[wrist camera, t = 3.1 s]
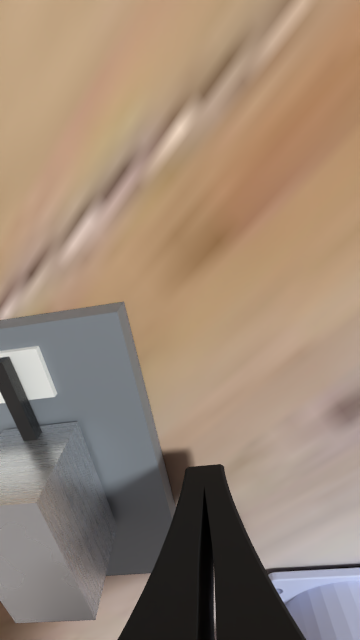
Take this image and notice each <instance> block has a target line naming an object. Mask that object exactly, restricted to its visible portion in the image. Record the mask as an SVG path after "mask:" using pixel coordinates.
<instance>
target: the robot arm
mask: <svg viewBox="0 0 360 640" xmlns="http://www.w3.org/2000/svg"><path fill="white" fill-rule="evenodd" d="M214 578H215V603H216V631H217V640H360V567H359V568H341V569H322V570H304V571H285V572H273V573H270V574H269V575H268V574H267V572H266V570H265V568H264V567H263V565H262V563H261V561H260V559H259V557H258V555H257V553H256V551H255V549H254V547H253V545H252V543H251V541H250V539H249V536H248V534H247V532H246V530H245V528H244V525H243V523H242V521H241V518H240V516H239V514H238V511H237V509H236V506H235V504H234V501H233V499H232V496H231V493H230V490H229V487H228V484H227V480H226V476H225V471H224V466H222V465H221V464H218V465H207V466H196V467H188V468H187V469H186V470H185V476H184V481H183V485H182V489H181V493H180V497H179V500H178V504H177V507H176V510H175V513H174V516H173V519H172V522H171V525H170V528H169V531H168V533H167V536H166V538H165V541H164V544H163V546H162V549H161V551H160V554H159V556H158V559H157V561H156V563H155V566H154V568H153V570H152V573H151V575H150V577H149V579H148V581H147V584H146V586H145V588H144V590H143V592H142V594H141V596H140V598H139V600H138V602H137V604H136V606H135V608H134V610H133V612H132V614H131V616H130V618H129V620H128V622H127V624H126V625H125V627H124V629H123V631H122V633H121V635H120V636H119V638H118V640H215V639H214Z"/></svg>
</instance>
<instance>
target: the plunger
mask: <svg viewBox="0 0 360 640" xmlns="http://www.w3.org/2000/svg"><path fill="white" fill-rule="evenodd" d="M0 392H1V394H2V397H3V399H4V401H5V403H6V405H7V407H8V409H9V411H10V413H11V415H12V418H13V420H14V422H15V424H16V426H17V428H15V429H6V430H3V431H2V433H1V434H0V601H1V603H2V604H3V605H4V607H5V608H6V610H7V611H8V613H9V614H10V616H11V617H12V618H13V620H14V621H15V623H32V622H56V621H80V620H96V615H97V611H98V606H99V602H100V598H101V593H102V589H103V585H104V580H105V576H106V572H107V567H108V563H109V559H110V554H111V550H112V545H113V541H114V537H115V532H116V528H117V525H116V523H115V520H114V517H113V515H112V512H111V509H110V506H109V504H108V501H107V498H106V496H105V493H104V490H103V488H102V485H101V482H100V480H99V477H98V474H97V472H96V469H95V466H94V464H93V461H92V458H91V456H90V453H89V450H88V448H87V445H86V442H85V440H84V437H83V434H82V432H81V429H80V426H79V423H78V422H70V423H60V424H51V425H42V426H39V423H38V421H37V419H36V417H35V414H34V412H33V410H32V407H31V405H30V403H29V401H28V398H27V396H26V394H25V391H24V389H23V387H22V385H21V382H20V380H19V378H18V375H17V373H16V371H15V369H14V366H13V364H12V362H11V359H10V357H2V358H0Z"/></svg>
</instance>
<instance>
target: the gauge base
mask: <svg viewBox="0 0 360 640" xmlns="http://www.w3.org/2000/svg"><path fill="white" fill-rule="evenodd" d="M2 357H10V359H11V362H12V364H13V366H14V369H15V371H16V373H17V375H18V378H19V380H20V382H21V385H22V387H23V389H24V391H25V394H26V396H27V398H28V401H29V403H30V405H31V407H32V410H33V412H34V414H35V417H36V419H37V421H38V423H39V426H42V425H51V424H60V423H70V422H78V423H79V426H80V429H81V432H82V434H83V437H84V440H85V442H86V445H87V448H88V450H89V453H90V456H91V458H92V461H93V464H94V466H95V469H96V472H97V474H98V477H99V480H100V482H101V485H102V488H103V490H104V493H105V496H106V498H107V501H108V504H109V506H110V509H111V512H112V515H113V517H114V520H115V523H116V525H117V528H116V532H115V537H114V541H113V545H112V550H111V554H110V559H109V563H108V567H107V572H106V576H110V575H127V574H145V573H152V570H153V568H154V566H155V563H156V561H157V559H158V556H159V554H160V551H161V549H162V546H163V544H164V541H165V538H166V536H167V533H168V531H169V528H170V525H171V522H172V519H173V516H174V513H175V510H176V507H175V503H174V499H173V495H172V491H171V487H170V483H169V479H168V475H167V471H166V467H165V463H164V459H163V455H162V451H161V447H160V443H159V439H158V435H157V431H156V428H155V424H154V420H153V416H152V412H151V408H150V404H149V400H148V396H147V392H146V388H145V384H144V380H143V376H142V372H141V368H140V364H139V360H138V356H137V352H136V348H135V344H134V340H133V336H132V332H131V328H130V324H129V320H128V316H127V313H126V309H125V305H124V302H119V303H113V304H106V305H99V306H93V307H86V308H79V309H73V310H66V311H59V312H53V313H46V314H39V315H33V316H26V317H19V318H13V319H6V320H0V358H2ZM15 428H17V426H16V424H15V422H14V420H13V418H12V415H11V413H10V411H9V409H8V407H7V405H6V403H5V401H4V399H3V397H2V394H1V392H0V434H1V433H2V431H3V430H6V429H15Z"/></svg>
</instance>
